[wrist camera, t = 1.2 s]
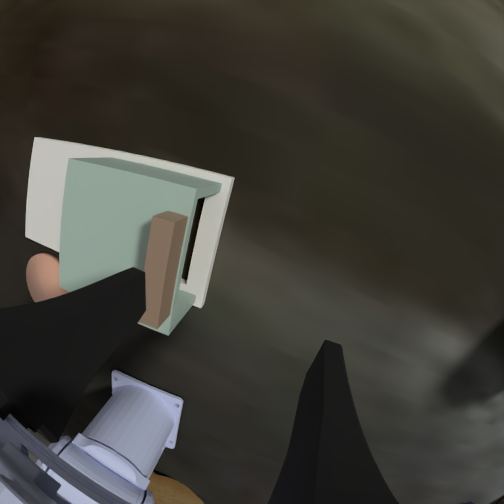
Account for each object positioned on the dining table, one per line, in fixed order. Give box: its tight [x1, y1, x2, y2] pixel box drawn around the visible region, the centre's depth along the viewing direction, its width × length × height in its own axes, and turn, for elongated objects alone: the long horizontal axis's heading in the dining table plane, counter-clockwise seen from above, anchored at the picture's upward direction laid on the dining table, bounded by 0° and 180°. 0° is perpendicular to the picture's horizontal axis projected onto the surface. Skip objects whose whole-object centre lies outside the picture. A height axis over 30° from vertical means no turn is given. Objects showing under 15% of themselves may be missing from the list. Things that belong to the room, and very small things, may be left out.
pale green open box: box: [59, 157, 222, 336], centre depth 18 cm, size 9×9×7 cm
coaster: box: [26, 252, 69, 302], centre depth 26 cm, size 7×7×1 cm
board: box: [25, 137, 235, 308], centre depth 23 cm, size 10×20×1 cm, turn 75°
